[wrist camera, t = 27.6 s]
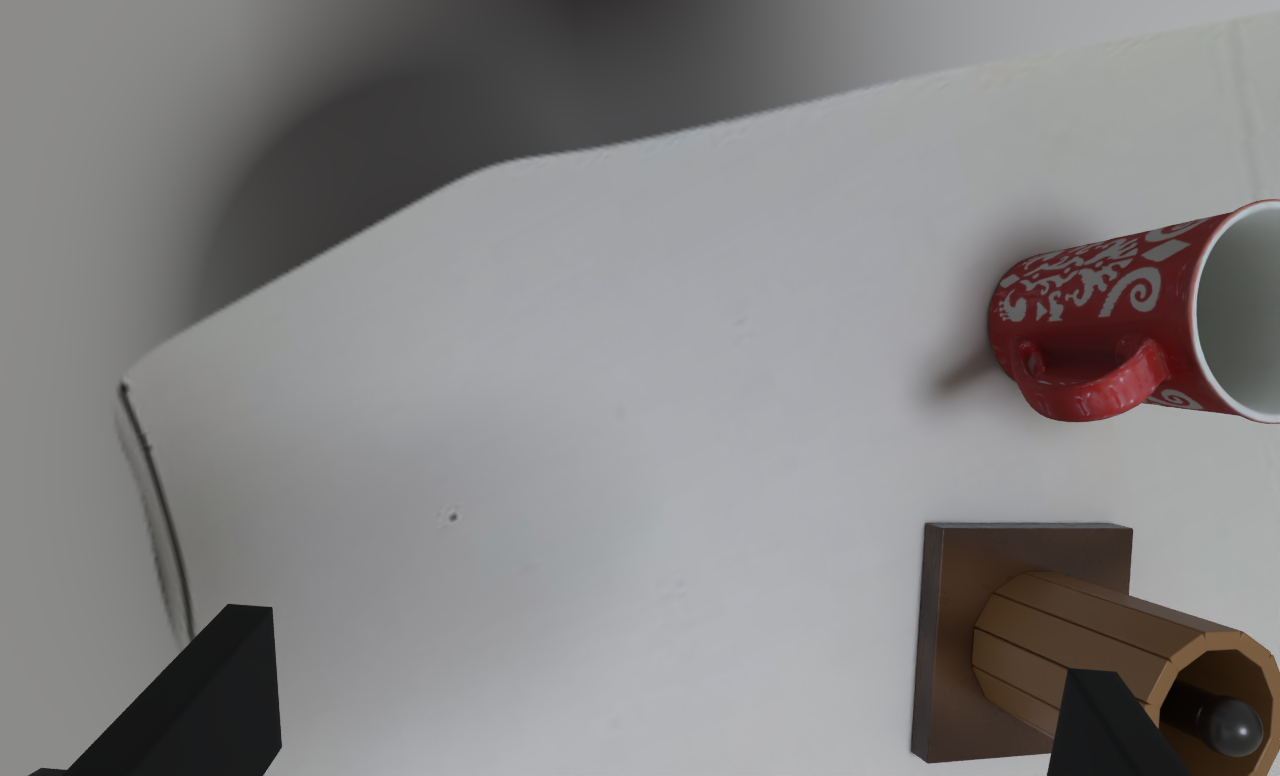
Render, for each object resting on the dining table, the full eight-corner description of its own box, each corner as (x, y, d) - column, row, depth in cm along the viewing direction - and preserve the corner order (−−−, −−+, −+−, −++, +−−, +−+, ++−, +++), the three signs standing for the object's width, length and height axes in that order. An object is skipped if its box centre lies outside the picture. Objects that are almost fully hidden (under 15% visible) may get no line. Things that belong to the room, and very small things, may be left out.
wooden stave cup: (976, 572, 49) (1150, 634, 38) (1097, 570, 51) (1293, 628, 41) (967, 719, 49) (1137, 821, 39) (1088, 711, 51) (1280, 805, 41)
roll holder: (925, 522, 50) (1144, 589, 36) (1112, 523, 53) (1376, 584, 40) (910, 752, 50) (1123, 904, 36) (1098, 737, 53) (1354, 870, 40)
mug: (1078, 208, 52) (1323, 162, 39) (1134, 359, 53) (1388, 363, 40) (892, 309, 48) (1090, 296, 36) (957, 466, 50) (1170, 508, 37)
